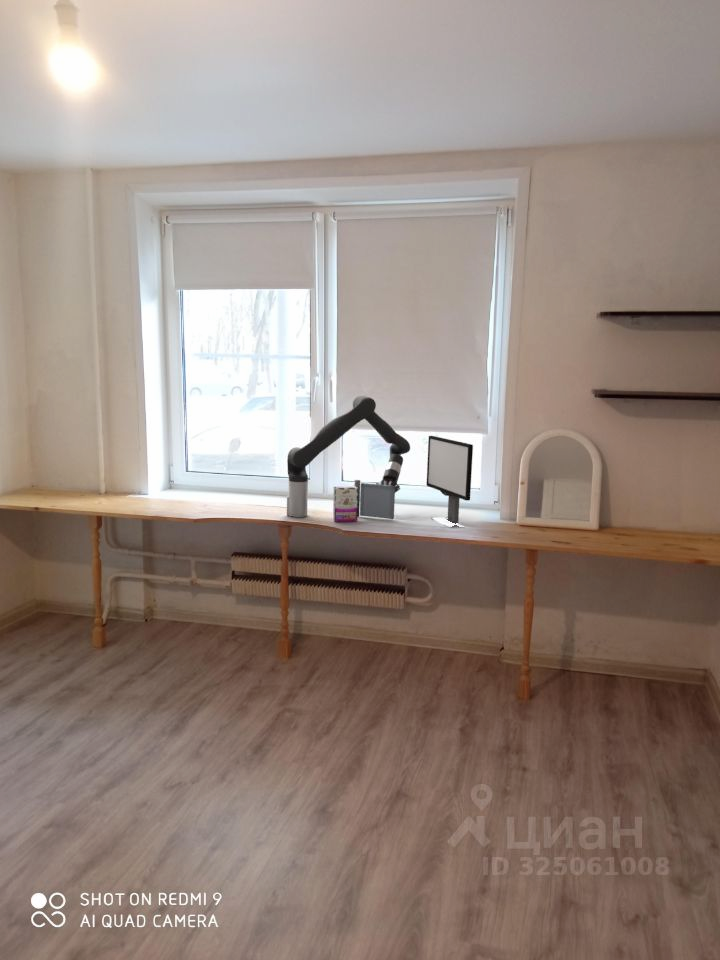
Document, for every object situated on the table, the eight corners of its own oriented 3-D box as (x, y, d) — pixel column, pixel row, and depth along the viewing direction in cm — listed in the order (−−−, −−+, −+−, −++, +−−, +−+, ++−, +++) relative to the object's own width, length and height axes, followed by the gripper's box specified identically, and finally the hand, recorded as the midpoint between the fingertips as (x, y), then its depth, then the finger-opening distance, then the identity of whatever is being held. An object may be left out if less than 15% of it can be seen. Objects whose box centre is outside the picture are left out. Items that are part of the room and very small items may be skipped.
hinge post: (352, 516, 342) (353, 480, 339) (354, 515, 344) (355, 479, 342) (357, 517, 341) (359, 481, 338) (360, 516, 343) (361, 480, 340)
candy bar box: (355, 519, 335) (356, 486, 333) (357, 521, 331) (358, 487, 328) (332, 519, 333) (333, 486, 331) (334, 522, 328) (335, 488, 326)
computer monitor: (421, 514, 352) (424, 435, 346) (436, 513, 355) (439, 435, 348) (460, 533, 314) (465, 444, 308) (476, 532, 317) (481, 444, 311)
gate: (359, 515, 341) (360, 483, 338) (361, 515, 342) (362, 482, 340) (392, 519, 335) (393, 486, 332) (393, 518, 336) (395, 485, 334)
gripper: (378, 467, 351) (369, 494, 342) (403, 469, 347) (394, 497, 337) (381, 476, 357) (372, 503, 347) (406, 478, 352) (397, 506, 343)
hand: (383, 500), depth 342 cm, fingers closed
